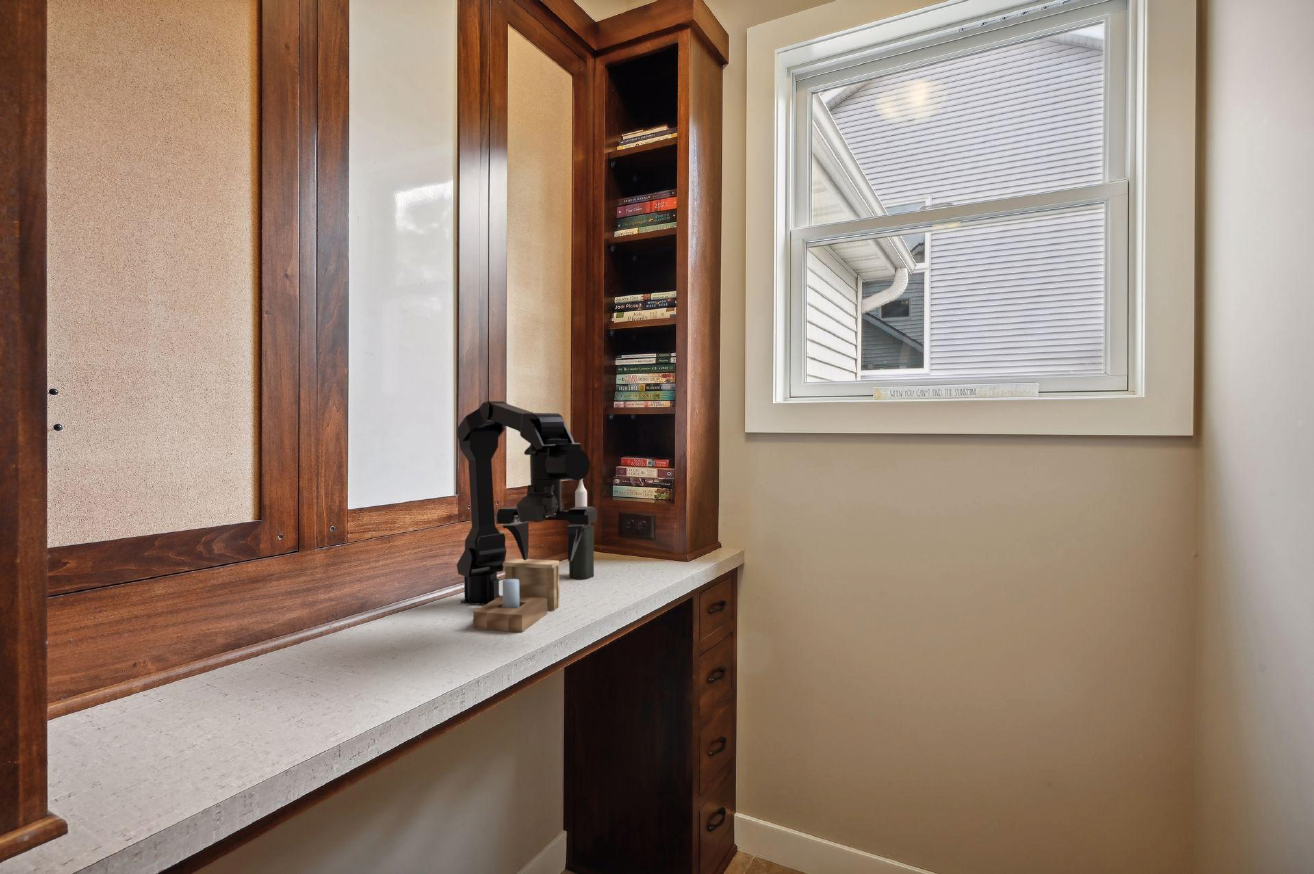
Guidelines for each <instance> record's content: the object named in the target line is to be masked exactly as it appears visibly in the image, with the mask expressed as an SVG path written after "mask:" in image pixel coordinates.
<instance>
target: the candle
mask: <svg viewBox="0 0 1314 874" xmlns="http://www.w3.org/2000/svg"><path fill="white" fill-rule="evenodd" d="M583 480H584V478H583V479H581V480H579V482H578V485H577V488H576V490H575V492H574V496H575V497H574V500H575V503H574V504H575V505H574V507H588V490H587V489H586V488H585V486H584V482H583ZM594 533H595V531H594V525H592V524H591V526H588V527H586V528H585V530H584V532H583V534H582V536H581V538H580V540H579V543H578V546H577V549H576V551H575V554H574V557H573V560H572V561H568V563H569V564H568V568H569V569H568V570H569V571H568V577H569V579H577V580H580V581H582V580H588V579H590V578H591V579H592V578H594V576H595V569H594V568H595V561H594V559H595V551H594V550H595V549H594V544H595V543H594V540H595V539H594V535H595V534H594Z"/></svg>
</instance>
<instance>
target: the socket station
mask: <svg viewBox="0 0 1314 874" xmlns="http://www.w3.org/2000/svg"><path fill="white" fill-rule="evenodd" d="M503 566H504V580H506V579H518V580H519V608H517V609H515V608H503V595H501V596H500V597H498V598H497V599H495V600H493V601H491V602H490V603H488V604H486V605H483V606H481V607H479V608H477V609H476V610H474V611H473V612H472V614H473V616H472V618H473V619H472V621H473V626H472V627H473V629H477V630H489V631H503V632H513V633H514V632H516V633H524V631H526V630H527V629H529V628H530V627H532V626H533V625H534V624H536V623H537V622H538V621H539V620H541V619H542V618H544V617H545V616H546V615H548V611H555V610H557V609H558V608H560V560H553V559H552V560H551V559H535V558H534V559H532V558H531V559H530V558H528V559H527V560H523V558H512V557H511V558H509V559H506V560H505V561H504V562H503Z"/></svg>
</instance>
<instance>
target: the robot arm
mask: <svg viewBox="0 0 1314 874" xmlns="http://www.w3.org/2000/svg"><path fill="white" fill-rule="evenodd" d="M458 425H459V426H458V427H457V431H456V435H457V438H458V442H459V448H460V449H459V450H460V451H461V453H462V454H463V455H464V456H465V458H466V460H467V461H468V475H469V477H468V480H469V494H470V495H469V497H470V498H469V499H470V515H471V516H470V517H471V528H470V531H469V533H468V534H467V536H466V537H465V540H464V551H463V552H462V555H461V556H460V558H459V559H458V562H457V563H456V569H457V573H458V575H461V576H463V578H464V593H463V594H464V598H463V599H462V600H460V604H466V605H467V604H469V605H470V604H471V605H483V606H484V605H486V604H488V603H490V602H491V601H493V600H495V599H497V598H498V597H500V596H502V595H500V580H499V578H498V572H503V571H504V568H505V566H503V562H504V561H506V558H507V557H506V556H507V552H508V551H507V545H506V535H505V532H504V533H501V532H500V530H499V529H498V527H497V525H499V524H500V525H501V526H502V528H503V529H507V530H508V531H509V532H510V533H511V534H512V536H513V538H514V540H515V542H516V545H517V547H518V550H519V552H520V555H521V557H522V558H521V559H523V560H527V559H529V546H530V545H529V541H530V540H529V533H530V531H529V530H530V527H529V525H530V524H529V523H530V522H534V523H542V522H543V521H568V523H569V525H567V526H566V527H565V528H566V531H567V534H568V536H567V537H568V539H567V560H568V562H569V561H572V560H573V557H574V554H575V551H576V549H577V546H578V543H579V540H580V538H581V536H582V534H583V532H584V530H585V528H586V527H588V526H591V525H592V523H595V522H597V521H598V511H597V508H595V506H587V507H575V506H574V507H572V508H568V510H564V509H565V504H564V503H562V489H564V482H562V480H563V481H580V480H581V479H583V480H584V479H585V478H586V477H587V475H588V473H590V468H591V461H590V458H589V456H588V454H587V453H586V452H585V451H584V450H582V449H581V446H582V445H581V442H575V441H574V440H575V439H574V437H573V436H572V434H571V432H570V429H569V428H568V426H567V424H566V422H565V421H564V417H563V416H562V415H561V414H560V413H558V412H557V413H556V412H555V413H554V412H553V413H552V412H551V413H550V412H533V411H530V410H526V409H524V408H521V407H517V406H514V405H511V404H509V403H507V402H505V401H501V400H500V401H498V400H497V401H496V400H495V401H494V400H487V401H484V402H482V403H481V404H480V406H479V408H477V409H475V410H474V411H472V412H470V413H469V414H467V415H465V416H464V418H463V419H462V421H461V422H460V424H458ZM506 427H507V428H509V429H510V428H511V429H513V430H515V431H517V432H519V436H520V437H521V438H522V439H523V440H525V441H526V442H528V444H530V445H529V446H528V447H527V448H526V449H525V450H524V451H523V452H524V454H523V455H524V456H529V467H530V469H529V473H530V474H529V475H530V477H529V478H530V484H528V485H527V488H526V489H527V490H526V494H525V495H526V496H524V497H523V498H521V500H519V501H518V503H517V504H516V505H515V506H505V507H502V508H498V510H497V511H496V512H495V501H494V498H495V497H494V481H493V480H494V479H493V463H492V462H493V461H492V459H493V458H494V456H495V454H496V452H497V450H498V448H499V442H500V441H499V439H500V437H501V436H502V434H503V433H504V431H505V430H506Z"/></svg>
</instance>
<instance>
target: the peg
mask: <svg viewBox="0 0 1314 874" xmlns="http://www.w3.org/2000/svg"><path fill="white" fill-rule="evenodd" d="M502 596H503V608H515V609H517V608H519V580H518V579H506V580H505V579H503V580H502Z"/></svg>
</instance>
